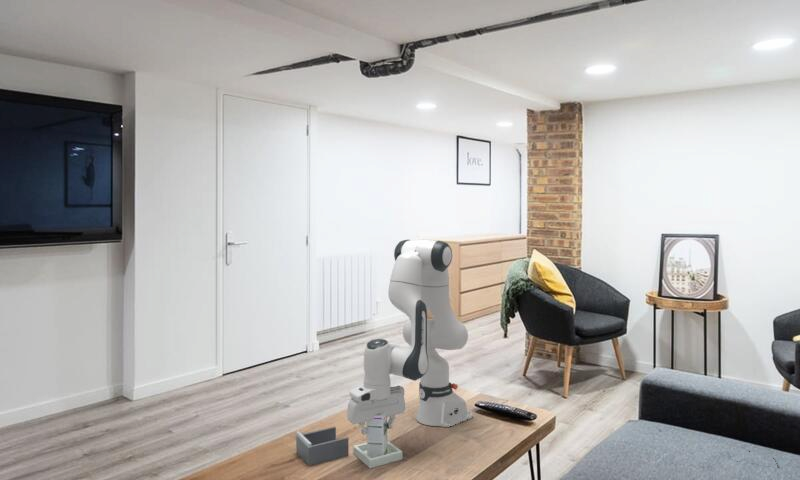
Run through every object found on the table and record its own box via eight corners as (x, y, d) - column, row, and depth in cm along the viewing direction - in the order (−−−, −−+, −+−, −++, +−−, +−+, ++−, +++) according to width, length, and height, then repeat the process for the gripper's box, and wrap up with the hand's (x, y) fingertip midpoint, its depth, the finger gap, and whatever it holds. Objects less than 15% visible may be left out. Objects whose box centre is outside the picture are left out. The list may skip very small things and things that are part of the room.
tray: (384, 445, 191) (384, 438, 191) (402, 459, 181) (402, 451, 180) (353, 453, 185) (353, 446, 185) (370, 468, 174) (370, 460, 174)
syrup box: (384, 459, 179) (384, 416, 178) (366, 457, 180) (366, 414, 179) (387, 451, 185) (387, 409, 184) (370, 450, 186) (370, 408, 185)
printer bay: (334, 443, 193) (334, 423, 192) (348, 455, 183) (348, 434, 183) (296, 452, 185) (296, 431, 185) (308, 466, 176) (308, 444, 176)
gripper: (399, 381, 189) (399, 421, 190) (345, 392, 178) (345, 433, 179) (409, 387, 184) (408, 427, 185) (353, 398, 173) (353, 441, 174)
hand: (377, 430), depth 182 cm, fingers closed on syrup box, 8 cm apart
